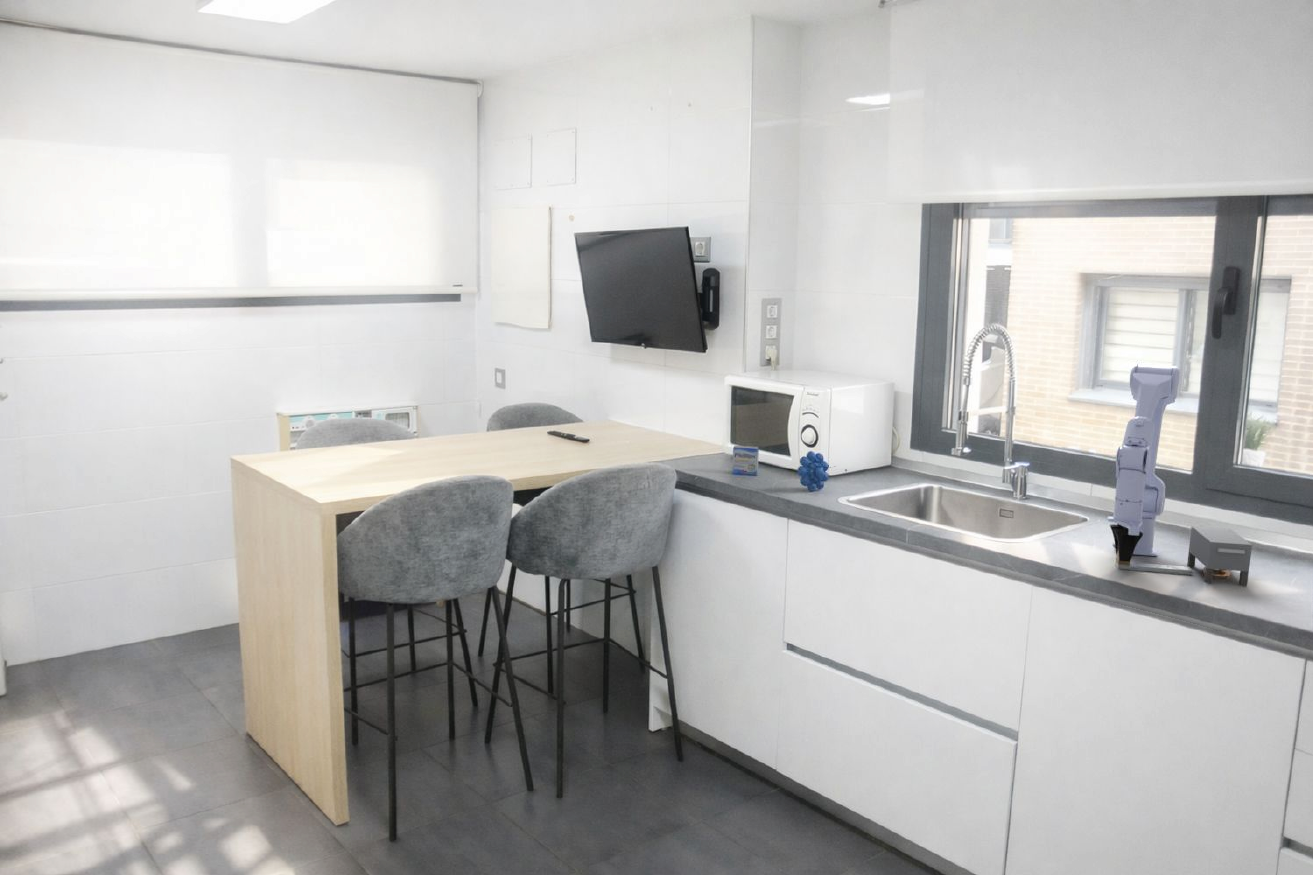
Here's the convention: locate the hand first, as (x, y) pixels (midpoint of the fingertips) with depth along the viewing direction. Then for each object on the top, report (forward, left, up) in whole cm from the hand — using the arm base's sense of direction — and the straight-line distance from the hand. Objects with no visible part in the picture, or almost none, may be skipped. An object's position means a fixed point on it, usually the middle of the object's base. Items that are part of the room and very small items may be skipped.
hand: (1123, 559), depth 229 cm
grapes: (-58, -72, -2) cm, 92 cm away
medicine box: (-78, -95, -2) cm, 123 cm away
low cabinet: (0, +19, -2) cm, 19 cm away
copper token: (0, +19, -2) cm, 19 cm away
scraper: (0, +6, -2) cm, 7 cm away
